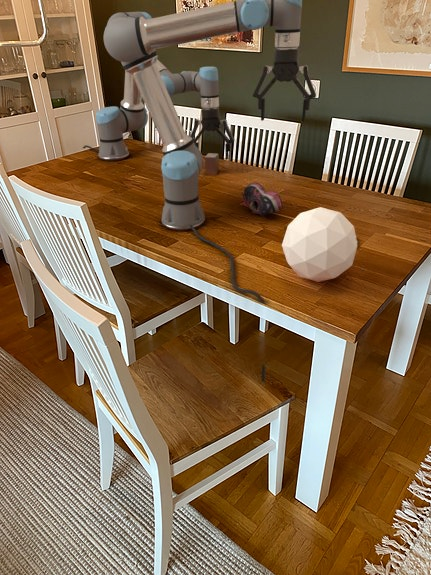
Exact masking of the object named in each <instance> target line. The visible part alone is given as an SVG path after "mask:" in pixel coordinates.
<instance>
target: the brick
mask: <svg viewBox="0 0 431 575" xmlns="http://www.w3.org/2000/svg"><path fill="white" fill-rule="evenodd" d="M204 165H205V166H204V167H205V168H204V169H205V175H211V176H216V175H217V174H218V173H219V170H220V167H219V166H220V164H219V153H213V152H211V153H210V152H209V153H207V154H206V155H205V156H204Z"/></svg>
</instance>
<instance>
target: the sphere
mask: <svg viewBox="0 0 431 575" xmlns="http://www.w3.org/2000/svg"><path fill="white" fill-rule="evenodd" d="M356 236H357V235H356V230H355V226H354V225H353V223H351V222H350V221H349V220H348V219H347V217H346V216H344V214H343V213H342V212H340V211H337V210H332V209H329V208H325V207H323V206H319V207H317V208H313V209H310V210H307V211H303V212H299V214H298V215H297V216H296V217H295V218H294V219H293V220H292V221H291V222H290V223H289V224H288V225H287V228H286V231H285V234H284V237H283V240H282V243H281V247H282V250H283V254H284V257H285V260H286V263H287V264H288V265H289V267H290V268H291V269H292V270H293V271H294V273H295V274H296V275H297V276H298V277H299V278H301V279H306V280H310V281H314V282H317V283H320V282H324V281H329V280H333V279H335V278H337V277H339V276H340V275H342V274H343V273H344V272H345V271H347V270H349V268H351V267H352V266H353V263H354V260H355V257H356V252H357V249H358V246H357V245H358V243H357V241H358V240H357V241H356V239H357V238H356Z"/></svg>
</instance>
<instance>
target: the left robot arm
mask: <svg viewBox="0 0 431 575" xmlns="http://www.w3.org/2000/svg"><path fill="white" fill-rule="evenodd" d="M126 16H134V17H143V18H145V19H146V20H148V19H153V17H152V16H151V15H150V14H149V13H147V12H145V11H127V12H116V13H114V14H112V15H111V16H110V17H109V19H108V20H107V24H106V26H107V25H108V24H109V22H110V21H112V20H113V19H116V18H120V17H126ZM156 65H157V67H158V70H159V72H160V74H161V77H162V79H163V81H164V84H165V86H166V89H167V91H168V93H169V96H170V97H171V96H174V95H180V94H185V93H189V92H200V106H201V109H200V110H201V119H199V118H196V119H195V120H194V125H193V129H192V131H191V133H190V135H189V136H190V137H192V139H193V141H194V144H195V146H196V147H197V148H198V149H199V150H200V148H199V147H200V146H199V142H198V141H199V139H200V138H201V136H202V135H203V134H204V132H206V131H207V132H217V133H218V135H219V136H220V137H221V138H222V140H224V142H225V144H224V147H225V148H224V150H225V155H224V156H225V160H226V161H227V160H228V159H229V158H230V157H229V156H230V155H229V153H230V152H231V150H232V147H231V145H232V144H233V143H235V141H236V140H235V137H234V135H233V132H231V129H230V127H229V125H228V120H227V119H222V120H220V119H221V118H220V108H219V107H220V95H219V92H220V91H219V71H218V68H217V66H202V67H199V71H192V70H183V71H181V72H178V73H172V72H171V71H170V70H169V69H168V68H167V67H166V66H165V65H164V64H163V63H162V62H161V61H160V60H159V59H157V61H156ZM124 72H125V73H124V90H123V92H124V93H123V99H122V100H121V101H120V108H119V107H118V106H113V105H112V106H105V107H102V108H100V109H98V110H97V111H96V113H95V121H96V126H97V132H98V139H99V148H96V147H92V146H90V145H88V144H87V145H85V144H84V146H83V147H82V149H86V148H88V149H89V150H92V151H96V152H97V153H98V159H99V160H101V161H102V162H103V161H104V162H116V161H122V160H126V159H128V158H129V157H130V151H129V150H128V146H126V144H125V141H124V135H123V134H126V133H130V132H135V131H140V130H141V129H144V128H145V127H146V126H147V124H148V121H149V113H148V109H147V107H145V103H143V101H142V100H143V98H142V96H141V93H140V91H139V89H138V87H137V85H136V82H135V80H134V78H133V76H132V75H131V74H130V73H128V72H126V71H125V70H124ZM200 125H202V128H201V129H200V130H199V133H198V134H197V135H196V133H197V131H198V128H199V126H200ZM220 125H222V126H223V129H224V130H222V128H221V127H220ZM224 131H225V132H224ZM195 135H196V137H195Z"/></svg>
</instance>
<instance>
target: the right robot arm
mask: <svg viewBox="0 0 431 575" xmlns="http://www.w3.org/2000/svg"><path fill="white" fill-rule="evenodd" d="M302 8H303V0H232V1H228V2H224V3H220V4H218V3H217V4H214V5H209V6H205V7H200V8H195V9H191V10H185V11H181V12H177V13H172V14H171V13H170V14H167V15H163V16H158V17H152V19H148V20H146V19H145V18H143V17H134V16H126V17H120V18H116V19H113V20H112V21H110V22H109V24H108V25H107V24H106V26H105V28H104V32H103V44H104V47H105V49H106V51H107V53H108V54H109V55H110V56H111V57H112V58H113V59H114V60H116V61H117V62H118V61H119V62H120V63H121V66H122V68H123V70H124V72H125V71H126V72H128V73H130V74H131V75H132V76H133V78H134V80H135V82H136V85H137V87H138V89H139V91H140V93H141V96H142V100H143V102H144V106H146V107H145V108H146V110H147V112H148V114H149V116H150V117H151V120H152V122H153V124H154V128H155V129H156V131H157V133H158V135H159V138H160V141H161V142H162V145H163V146H162V149H161V153H162V155H163V157H162V158H161V166H160V168H161V173H162V174H161V176H162V184H163V194H164V204H163V207H162V213H161V219H160V220H161V225H162V227H163V228H165V229H167V230H170V231H175V232H176V231H177V232H185V231H186V232H187V231H192V232H193V233H194V235H195V236H196V237H197V238H198V239H200V240H201V241H203V242H205V243H207V244H209V245H211V246H213V247H215V248H216V249H218V250H220V251H221V252H222V253H224V254H226V255H227V257H228V258H229V260H230V271H231V278H230V279H231V284H232V286H233V288H234V289H235V290H236V291H238V292H240V293H245V294H250V295H252V296H255V297H256V298H257V299H258V300H259V302H260V303H261V304H264V303H265V300H264V298H263V297H262V295H261V294H259V293H258V292H257V291H255V290H252V289H246V288H241V287H240V286H238V285H237V283H236V272H235V260H234V258H233V255H232V254H231V253H230V252H229V251H228V250H227V249H225V248H223V247H221V246H220V245H219V244H217V243H215V242H213V241H211V240H209V239H207V238H204V237H203V236H201V235H200V234H199V232H198V231H197V229H198V228H201V227H202V226H203V225H204V224H205V223H206V217H205V212H204V210H203V208H202V204H201V202H200V196H199V178H200V174H201V172H202V169H203V166H204V158H203V154H202V152H201V149H200V148H199V149H198V148H197V147H196V146H195V144H194V141H193V139H194V138H193V139H192V137H190V135H188V134H187V133H186V131H185V129H184V127H183V124H182V121H181V119H180V117H179V114H178V112H177V109H176V108H175V104H174V103H173V101H172V98H171V96H169V93H168V91H167V89H166V86H165V84H164V81H163V79H162V77H161V74H160V72H159V70H158V67H157V65H156V61H157V60H158V58H159V55H158V54H157V51H156V50H159V49H163V48H164V49H165V48H169V47H173V46H177V45H183V44H187V43H192V42H197V41H203V40H207V39H212V38H218V37H223V36H227V35H232V34H236V33H242V32H247V31H257V30H260V29H262V28H264V27H266V28H267V27H274V28H275V29H274V47H275V49H274V51H273V66H269V65H267V64H266V65H264V66H263V68H262V69H263V70H262V74H261V77H260V79H259V81H258V83H257V85H256V87H255V90H254V91H253V94H252V97H253V98H255V99H257V101H258V102H257V109H258V110H260V121H264V120H265V116H266V115H265V114H266V98H264V96H265V95H266V94H267V93H268V92H269V90H270V89H271V88H272V87H273V85H275V83H276V82H277V81H278V82H281V83H283V82H287V83H289V82H293V83H294V84H295V86H296V87H297V88H298V90H299V91H300V94H302V96H303V97H304V98H303V101H302V102H303V103H302V117H301V122H305V121H306V111H309V110H310V105H311V100H312V99H315V98H316V97H317V92H316V90H315V87H314V85H313V83H312V80H311V76H310V75H309V66H308V65H307V64H305V65H302V66H299V57H300V56H299V53H300V50H299V47H300V39H301V25H302V24H301V22H302V10H303V9H302ZM299 71H300V73H301V74H302V75H303V77H304V80H305V83H306V85H307V87H308V90H309V92H308V91H307V89H306V88H305V87H304V85H303V84H302V82H301V80H300V79H299V78H298V76H297V74H298V73H299ZM271 72H272V73H273V75H274V77H273V78H272V79H271V80H270V81H269V83H268V84H267V85H266V86H265V88H264V89H263V90H262V92H260V91H261V89H262V87H263V84H264V82H265V81H266V79H267V76H268V74H270V73H271ZM309 93H310V94H309ZM265 379H266V365H264V364H261V382H262V383H264V382H265V381H266V380H265Z"/></svg>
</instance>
